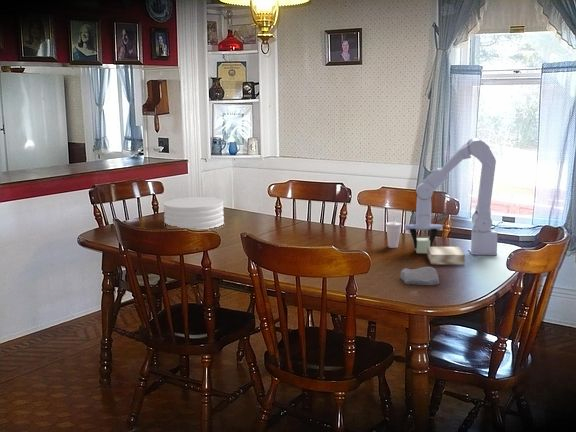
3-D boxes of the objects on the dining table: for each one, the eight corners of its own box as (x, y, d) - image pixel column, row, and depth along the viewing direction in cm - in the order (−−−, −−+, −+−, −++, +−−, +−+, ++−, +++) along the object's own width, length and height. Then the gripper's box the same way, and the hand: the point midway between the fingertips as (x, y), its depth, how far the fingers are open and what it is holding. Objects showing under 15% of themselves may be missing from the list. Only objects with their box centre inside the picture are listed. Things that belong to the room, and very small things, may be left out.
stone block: (441, 290, 214) (433, 275, 223) (442, 277, 212) (434, 263, 221) (405, 292, 214) (399, 278, 223) (405, 279, 212) (399, 265, 221)
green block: (428, 250, 258) (428, 237, 257) (429, 253, 253) (430, 240, 252) (415, 250, 258) (415, 237, 257) (416, 253, 253) (417, 240, 252)
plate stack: (171, 219, 324) (170, 197, 322) (227, 219, 323) (226, 196, 320) (158, 232, 297) (157, 207, 294) (219, 232, 295) (218, 207, 293)
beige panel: (458, 256, 248) (459, 246, 248) (464, 265, 237) (464, 254, 236) (427, 256, 250) (427, 246, 249) (430, 265, 238) (431, 254, 237)
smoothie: (389, 249, 259) (389, 215, 257) (382, 245, 265) (383, 212, 263) (403, 248, 261) (404, 213, 258) (397, 244, 267) (397, 210, 264)
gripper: (441, 212, 256) (440, 245, 258) (403, 211, 257) (403, 245, 260) (443, 215, 249) (442, 250, 251) (405, 215, 250) (404, 249, 253)
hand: (422, 248), depth 255 cm, fingers open, 5 cm apart
